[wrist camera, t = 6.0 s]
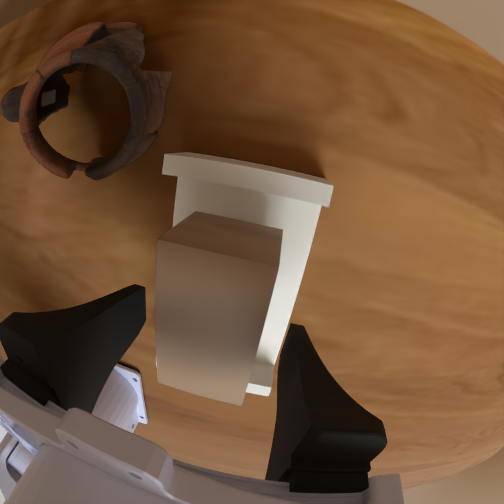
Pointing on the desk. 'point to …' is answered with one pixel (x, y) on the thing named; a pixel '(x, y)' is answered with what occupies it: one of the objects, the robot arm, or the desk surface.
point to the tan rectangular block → (213, 302)
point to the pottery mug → (57, 90)
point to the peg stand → (260, 212)
